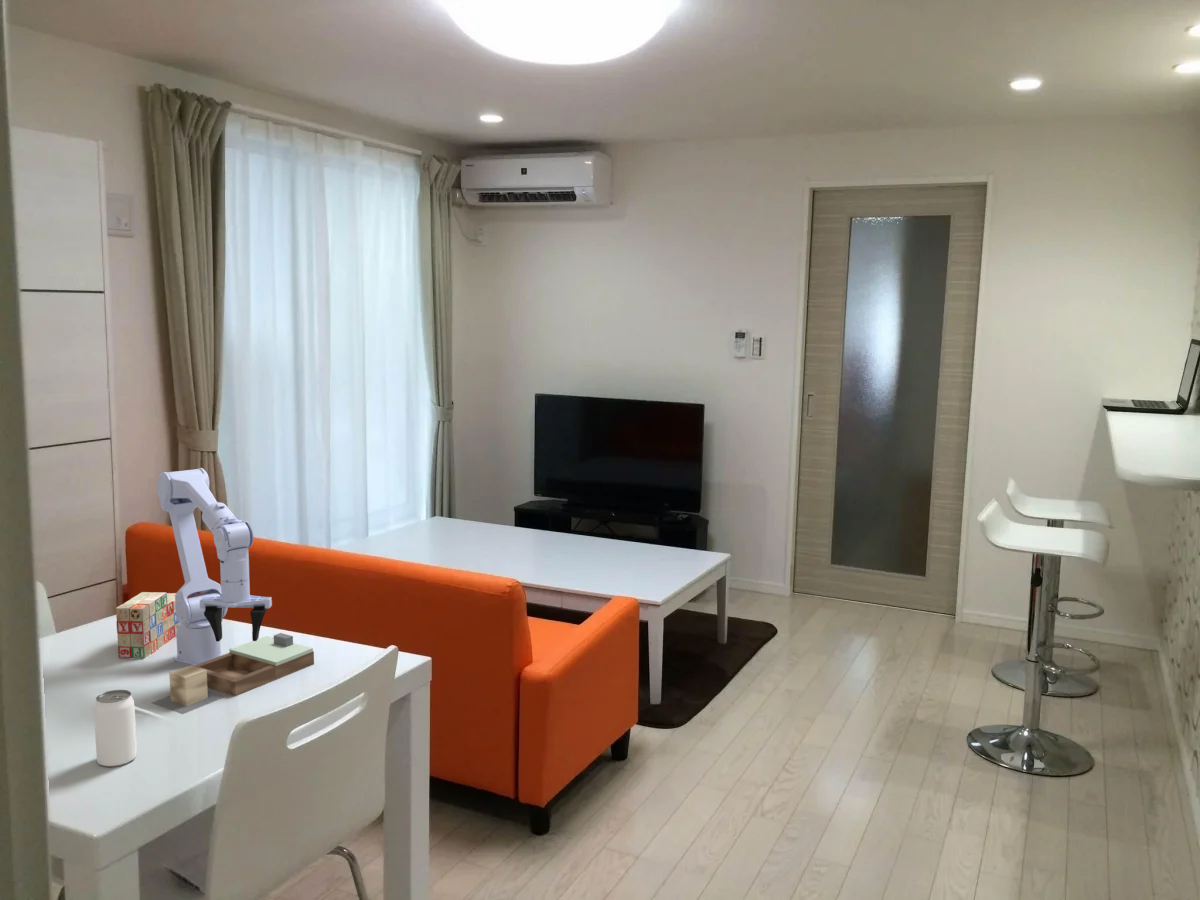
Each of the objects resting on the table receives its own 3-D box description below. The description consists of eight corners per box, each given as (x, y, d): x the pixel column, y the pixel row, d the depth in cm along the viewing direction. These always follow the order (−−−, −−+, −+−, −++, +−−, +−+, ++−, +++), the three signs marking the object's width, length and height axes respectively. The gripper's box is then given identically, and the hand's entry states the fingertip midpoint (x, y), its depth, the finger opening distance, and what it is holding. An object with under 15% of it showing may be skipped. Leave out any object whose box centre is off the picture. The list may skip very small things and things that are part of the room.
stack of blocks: (162, 628, 243) (159, 580, 242) (186, 628, 243) (184, 581, 241) (118, 658, 222) (115, 607, 220) (145, 659, 222) (142, 607, 220)
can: (106, 751, 176) (102, 688, 175) (142, 750, 177) (139, 688, 175) (90, 768, 170) (86, 703, 168) (128, 767, 171) (125, 702, 169)
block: (170, 700, 198) (169, 672, 197) (191, 692, 202) (190, 665, 201) (186, 706, 195) (185, 677, 195) (207, 697, 200) (206, 670, 199)
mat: (151, 705, 197) (150, 702, 197) (193, 688, 205) (193, 686, 205) (183, 716, 192) (182, 713, 192) (225, 699, 201) (225, 696, 200)
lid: (229, 652, 217) (229, 640, 217) (266, 639, 226) (266, 627, 226) (276, 665, 210) (275, 653, 209) (312, 651, 219) (312, 639, 218)
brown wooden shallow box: (188, 683, 208) (188, 667, 208) (268, 653, 227) (267, 639, 226) (236, 698, 201) (235, 682, 201) (314, 666, 219) (313, 651, 219)
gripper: (193, 584, 202) (196, 646, 204) (264, 584, 203) (266, 645, 205) (204, 574, 209) (207, 635, 211) (273, 574, 210) (275, 634, 212)
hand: (237, 639), depth 209 cm, fingers open, 7 cm apart
